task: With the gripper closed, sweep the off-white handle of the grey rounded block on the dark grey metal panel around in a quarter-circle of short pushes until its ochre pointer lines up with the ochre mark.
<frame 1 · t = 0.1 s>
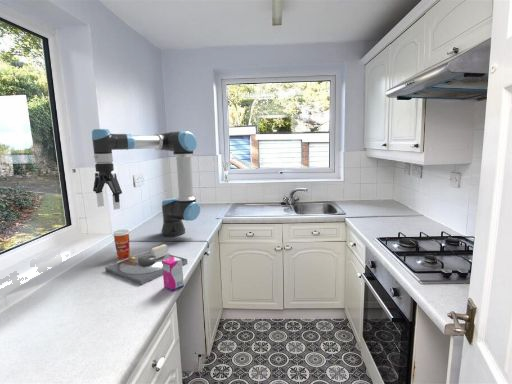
hand: (108, 207, 141), 28 cm above the worktop, fingers open, 13 cm apart
panel: (147, 267, 140), on the worktop
paper cup: (123, 257, 153), on the worktop
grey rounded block: (152, 254, 142), point 5 cm above the worktop, hinge at 0.0°
supplement box: (173, 287, 120), on the worktop
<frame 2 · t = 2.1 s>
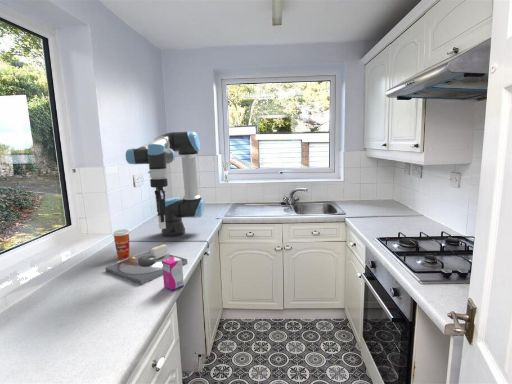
hand: (162, 228, 138), 18 cm above the worktop, fingers closed
nothing on the worktop moved.
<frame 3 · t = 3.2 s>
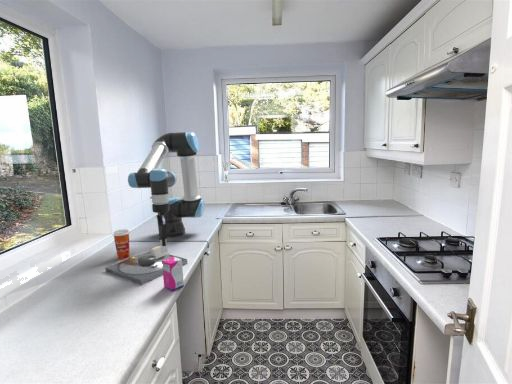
hand: (164, 251, 140), 7 cm above the worktop, fingers closed
nothing on the worktop moved.
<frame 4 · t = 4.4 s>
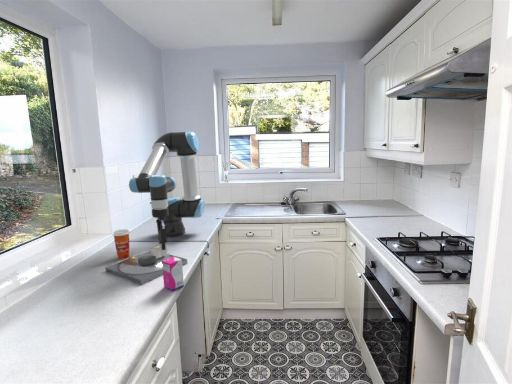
hand: (163, 255, 144), 4 cm above the worktop, fingers closed
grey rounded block: (152, 254, 142), point 5 cm above the worktop, hinge at 0.3°, touching gripper
everything else where it was.
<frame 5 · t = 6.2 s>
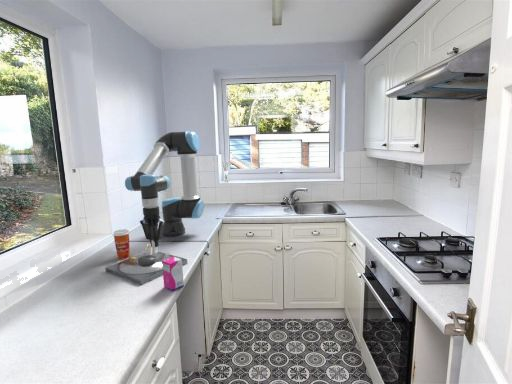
hand: (155, 252, 147), 4 cm above the worktop, fingers closed
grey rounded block: (147, 254, 142), point 5 cm above the worktop, hinge at 45.4°, touching gripper
everything else where it was.
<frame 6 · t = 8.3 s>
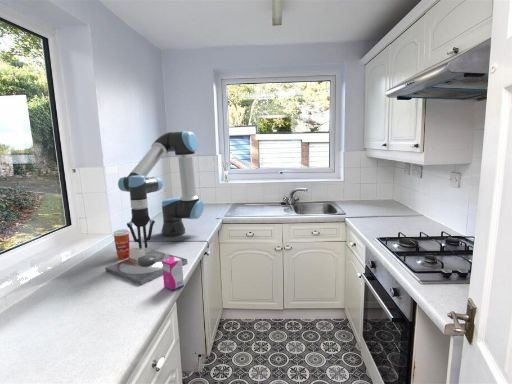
hand: (143, 254, 146), 4 cm above the worktop, fingers closed
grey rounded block: (141, 255, 141), point 5 cm above the worktop, hinge at 91.8°
everything else where it was.
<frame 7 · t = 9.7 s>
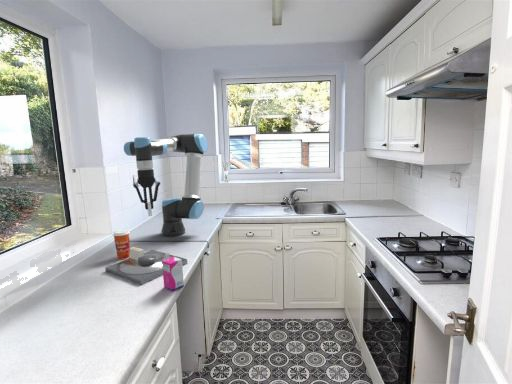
hand: (150, 215, 150), 22 cm above the worktop, fingers closed
nothing on the worktop moved.
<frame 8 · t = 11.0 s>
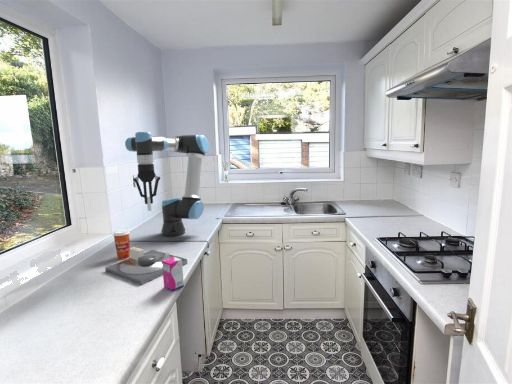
hand: (149, 210, 150), 24 cm above the worktop, fingers closed
nothing on the worktop moved.
at the end: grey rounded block at +92° (first picture: +0°) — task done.
